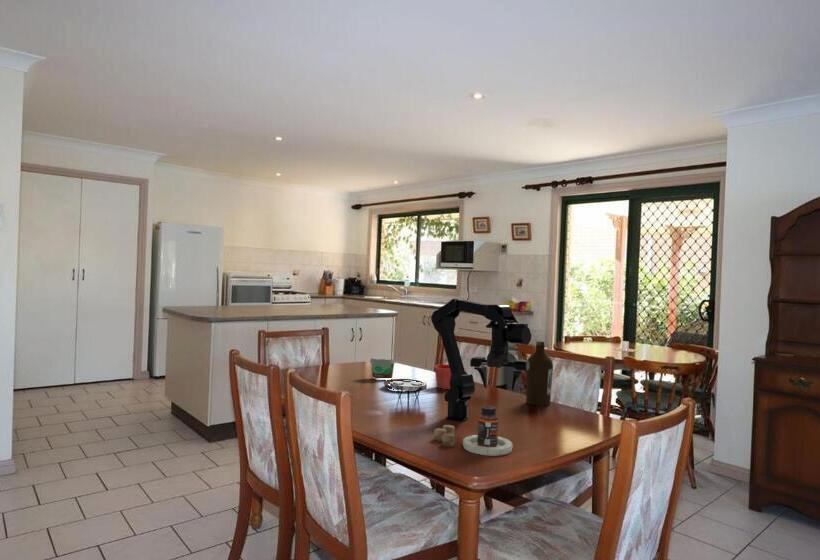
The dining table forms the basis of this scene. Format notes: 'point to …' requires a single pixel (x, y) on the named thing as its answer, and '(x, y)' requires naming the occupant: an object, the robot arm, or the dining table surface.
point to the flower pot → (443, 376)
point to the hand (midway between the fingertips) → (499, 389)
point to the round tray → (501, 449)
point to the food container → (382, 368)
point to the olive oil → (539, 377)
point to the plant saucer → (396, 380)
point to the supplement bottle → (487, 427)
